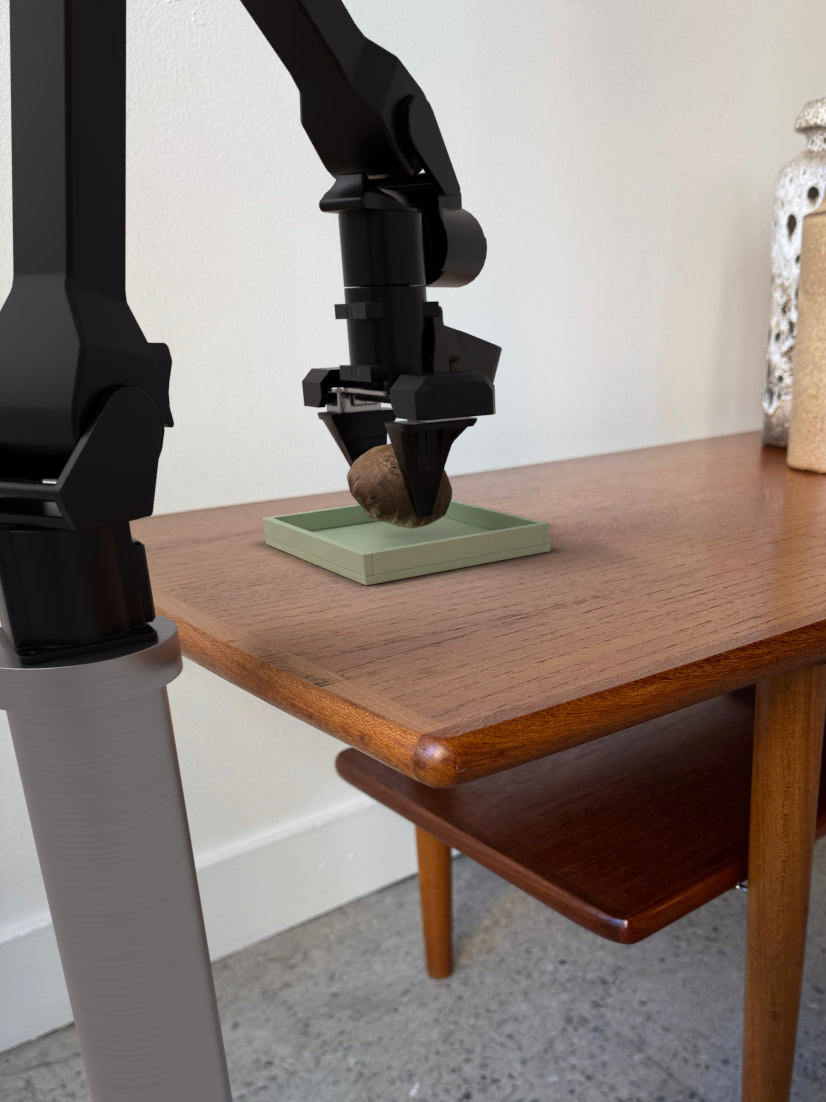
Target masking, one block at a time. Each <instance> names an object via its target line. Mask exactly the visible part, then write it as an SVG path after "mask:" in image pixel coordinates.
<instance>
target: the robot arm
mask: <svg viewBox="0 0 826 1102" xmlns="http://www.w3.org/2000/svg"><path fill="white" fill-rule="evenodd" d="M8 2H9V3H8V4H9V7H8V8H9V10H8V11H9V66H10V67H9V69H10V70H9V71H10V73H9V76H10V133H11V134H10V135H11V136H10V137H11V138H10V139H11V140H10V143H11V147H10V148H11V210H12V211H11V212H12V215H11V217H12V282H11V283H12V284H11V288H10V290H9V293H8V294H7V297H6V299H5V301H4V303H3V304H2V307H1V309H0V642H1V643H2V644H3V645H4V647H5V648H6V649H7V650H8V651H9V653H10V654H11V655H12V656H13V658H14V659H15V660H16V661H17V663H18V664H19V665H23V666H27V665H34V664H39V663H45V662H50V661H55V660H60V659H65V658H70V657H75V656H81V655H86V654H91V653H96V652H101V651H106V650H111V649H117V648H122V647H127V646H132V645H137V644H142V643H147V642H152V641H155V640H157V639H158V634H157V630H156V629H155V628H153V627H152V626H151V625H149V624H148V623H149V622H153V621H154V619H155V618H156V615H157V614H156V609H155V603H154V596H153V590H152V584H151V576H150V571H149V566H148V559H147V553H146V547H145V544H144V543H143V542H141V541H140V540H138V539H137V538H135V537H133V535H132V530H131V524H130V522H133V521H137V520H141V519H144V518H149V517H151V516H152V515H153V514H154V507H155V497H156V489H157V480H158V479H157V478H158V470H159V462H160V461H159V460H160V457H161V454H162V452H163V447H164V440H165V439H164V438H165V433H166V429H165V428H174V426H175V421H174V417H173V413H172V410H171V402H170V401H171V400H170V382H171V374H172V367H173V358H172V354H171V351H170V347H169V346H168V344H167V343H166V342H149V341H148V340H147V338H146V336H145V334H144V332H143V330H142V328H141V326H140V324H139V322H138V320H137V319H136V317H135V314H134V313H133V311H132V309H131V307H130V306H129V303H128V298H127V291H126V287H127V285H126V284H127V280H126V279H127V278H126V277H127V274H126V273H127V271H126V270H127V267H126V266H127V263H126V262H127V259H126V258H127V251H126V250H127V0H8ZM239 2H240V3H241V4H242V6H243V7H244V9H245V10H246V12H247V13H248V14H249V16H250V18H251V19H252V21H253V22H254V24H255V25H256V26H257V28H258V29H259V31H260V32H261V34H262V35H263V36H264V38H265V40H266V41H267V43H268V44H269V45H270V47H271V48H272V51H274V52H275V54H276V56H277V57H278V59H279V61H281V63H282V64H283V66H284V67H285V69H286V70H287V72H288V73H289V75H290V77H291V79H292V81H293V83H294V85H295V86H296V89H297V91H298V94H299V114H300V115H299V119H300V120H299V122H300V124H301V127H302V128H303V130H304V132H305V134H306V136H307V137H308V139H309V141H310V143H311V145H312V147H313V148H314V151H315V153H316V154H317V156H318V158H319V160H320V162H321V163H322V165H323V167H324V168H325V171H327V172H328V173H329V175H331V176H332V178H333V179H334V180H335V181H334V183H333V185H332V186H331V187H330V189H328V190H327V191H326V192H325V193H323V195H322V197H321V199H320V200H319V201H318V209H319V210H320V212H322V213H324V214H325V213H327V214H334V215H335V214H336V215H337V220H338V232H339V244H340V256H341V267H342V268H341V269H342V270H341V271H342V279H343V280H342V282H343V287H344V288H343V295H344V303H334V304H333V306H334V317H335V318H334V319H335V320H346V331H347V342H348V343H347V345H348V355H349V364H339V366H331V367H330V366H329V367H314V368H310V370H309V371H308V372H307V374H306V375H305V377H304V378H303V379H302V380H301V387H302V388H301V389H302V397H303V406H304V407H308V408H309V407H310V408H318V409H321V408H322V409H323V408H326V411H319V412H317V417H318V420H320V421H322V422H323V423H324V425H325V427H326V428H327V430H328V432H329V434H330V435H331V437H332V438H333V440H334V442H335V443H336V445H337V447H338V448H339V450H340V452H341V453H342V455H343V457H344V459H345V461H346V463H347V464H348V466H349V469H350V468H351V466H352V465H353V463H354V461H355V460H356V459H357V458H359V457H360V456H361V455H363V454H364V453H366V452H367V451H369V450H370V449H372V448H374V447H378V446H382V445H386V444H388V438H389V442H390V444H392V447H393V450H394V453H395V456H396V459H397V462H398V465H399V468H400V471H401V474H402V477H403V480H404V483H405V486H406V489H407V492H408V495H409V498H410V500H411V503H412V505H413V508H414V510H415V513H416V515H417V517H419V518H426V517H431V516H432V514H433V510H434V507H435V503H436V499H437V495H438V491H439V487H440V483H441V480H442V476H443V471H444V470H445V469H446V468H445V467H446V464H447V461H448V457H449V454H450V452H451V448H452V447H453V444H454V442H455V441H456V440H457V439H458V438H459V437H460V436H461V435H462V434H463V433H464V432H465V430H467V429H468V428H469V427H474V426H475V425H476V424H477V423H478V418H479V417H484V416H494V415H496V414H497V412H496V411H497V410H496V386H495V384H494V383H495V380H496V375H497V370H498V367H499V364H500V359H501V354H502V351H503V348H502V346H499V345H498V344H495V343H492V342H490V341H488V340H485V339H483V338H480V337H477V336H475V335H473V334H470V333H468V332H466V331H463V330H459V329H457V328H455V327H450V326H448V325H445V323H444V311H443V310H444V309H443V308H442V306H441V305H440V301H439V300H436V301H435V300H432V301H431V300H429V301H428V298H427V288H448V289H449V288H450V289H451V288H457V289H458V288H462V287H465V286H467V285H469V284H471V283H472V282H474V281H475V280H476V279H477V277H479V275H480V274H481V272H482V270H483V268H484V266H485V264H486V259H487V255H488V241H487V237H485V232H484V231H483V228H482V226H481V224H480V222H479V220H478V219H477V218H476V217H475V216H474V215H473V214H472V213H471V212H470V211H468V210H466V209H464V208H463V201H462V200H463V198H462V196H463V195H462V192H461V186H460V182H459V179H458V177H457V175H456V172H455V171H456V170H455V169H454V166H453V162H452V159H451V158H450V155H449V152H448V148H447V146H446V143H445V140H444V138H443V135H442V132H441V129H440V126H439V123H438V121H437V118H436V114H435V112H434V110H433V107H432V105H431V102H430V101H429V100H428V99H427V96H426V94H425V92H424V90H423V89H422V87H421V86H420V85H419V84H418V82H417V80H415V78H414V77H413V76H412V74H411V72H410V71H409V70H408V68H406V66H405V65H404V64H403V62H402V61H401V59H400V58H399V57H398V56H397V55H396V54H394V53H393V52H391V51H389V49H386V48H384V47H383V46H381V45H379V44H378V43H376V42H375V41H373V40H372V39H370V38H369V37H367V36H365V34H364V33H363V32H362V31H361V29H360V28H359V26H358V25H357V23H356V22H355V20H354V18H353V17H352V15H351V13H350V12H349V10H348V9H347V7H346V5H345V3H344V1H343V0H239ZM422 171H423V172H422ZM382 404H388V405H390V406H391V407H388V406H382ZM397 419H400V420H397Z"/></svg>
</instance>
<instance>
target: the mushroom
mask: <svg viewBox="0 0 826 1102" xmlns="http://www.w3.org/2000/svg"><path fill="white" fill-rule="evenodd" d="M346 474H347V475H346V480H347V484H348V489H349V492H350V495H351V496H352V498H353V499H354V500H355V501H356V503H357V504H359V505H360V506H361V507H362V508H363V509H364V512H365V514H366V515H367V516H368V517H370V518H372V519H374V520H377V521H382V522H386V523H389V524H391V525H394V526H398V527H404V528H410V529H414V528H418V527H422V526H426V525H429V524H432V523H433V522H435V521H437V520H439V519H440V518H442V517H443V516H445V515H446V512H447V510H448V508H449V505H450V502H451V499H452V500H453V487H452V483H451V481H450V478H449V476H448V473H447V471H446V470H445V469H444V471H443V476H442V480H441V483H440V487H439V491H438V495H437V499H436V503H435V507H434V510H433V514H432V516H431V517H426V518H419V517H417V515H416V513H415V510H414V508H413V505H412V503H411V500H410V498H409V495H408V492H407V489H406V486H405V483H404V480H403V477H402V474H401V471H400V468H399V465H398V462H397V459H396V456H395V453H394V450H393V447H392V444H391V443H387V444H386V445H382V446H378V447H374V448H372V449H370V450H369V451H367V452H366V453H364V454H363V455H361V456H360V457H359V458H357V459H356V460H355V461H354V463H353V465H352V466H351V468H350V467H349V469H348V471H347V473H346Z"/></svg>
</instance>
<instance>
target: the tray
mask: <svg viewBox="0 0 826 1102" xmlns="http://www.w3.org/2000/svg"><path fill="white" fill-rule="evenodd" d="M262 521H263V522H262V523H263V530H264V538H265V545H267V546H270V547H272V548H275V549H277V550H280V551H282V552H284V553H287V554H289V555H291V556H294V557H296V558H298V559H301V560H303V561H306V562H309V563H310V564H313V565H316V566H318V567H320V568H323V569H325V570H328V571H330V572H331V573H335V574H337V575H339V576H342V577H345V578H347V579H349V580H352V581H354V582H356V583H359V584H361V585H364V586H371V585H376V584H382V583H387V582H392V581H397V580H403V579H409V578H414V577H419V576H426V575H430V574H435V573H441V572H446V571H453V570H456V569H461V568H467V567H473V566H479V565H483V564H489V563H495V562H501V561H505V560H512V559H516V558H520V557H526V556H533V555H537V554H544V553H549V552H551V549H552V548H551V547H552V546H551V523H550V522H547V521H543V520H539V519H534V518H531V517H526V516H522V515H519V514H518V515H517V514H514V513H510V512H506V511H503V510H497V509H493V508H489V507H485V506H481V505H477V504H473V503H469V502H464V501H461V500H456V499H453V498H452V499H451V502H450V505H449V508H448V510H447V512H446V515H445V516H443V517H442V518H440V519H439V520H437V521H435V522H433V523H432V524H429V525H426V526H422V527H418V528H414V529H410V528H404V527H398V526H394V525H391V524H389V523H386V522H382V521H377V520H374V519H372V518H370V517H368V516H367V515H366V514H365V512H364V509H363V508H362V507H361V506H360V505H359V503H357V504H352V505H344V506H337V507H330V508H323V509H315V510H309V511H301V512H295V513H294V512H293V513H287V514H279V515H272V516H265V517H262Z"/></svg>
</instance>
